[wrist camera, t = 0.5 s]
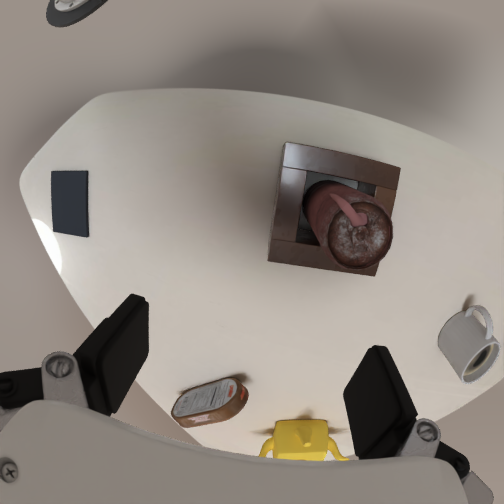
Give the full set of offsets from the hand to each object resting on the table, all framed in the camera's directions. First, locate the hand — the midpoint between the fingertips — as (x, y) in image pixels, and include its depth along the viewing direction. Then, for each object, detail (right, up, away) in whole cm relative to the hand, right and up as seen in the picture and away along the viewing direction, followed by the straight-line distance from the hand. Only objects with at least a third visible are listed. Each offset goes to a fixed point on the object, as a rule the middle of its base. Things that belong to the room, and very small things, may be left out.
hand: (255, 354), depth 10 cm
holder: (+9, +10, +22) cm, 25 cm away
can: (+9, +10, +22) cm, 26 cm away
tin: (-7, -20, +34) cm, 40 cm away
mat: (-28, +12, +24) cm, 39 cm away
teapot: (+10, -34, +37) cm, 51 cm away
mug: (+37, -9, +27) cm, 47 cm away
